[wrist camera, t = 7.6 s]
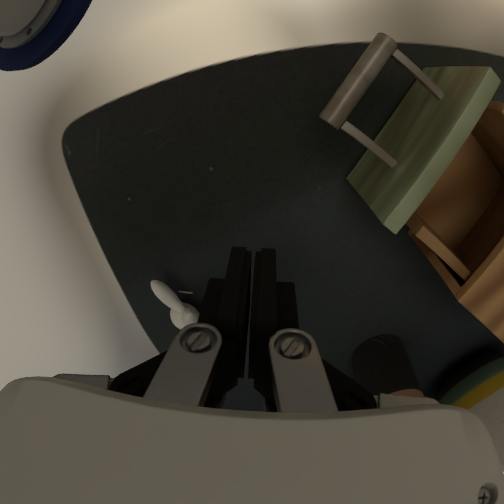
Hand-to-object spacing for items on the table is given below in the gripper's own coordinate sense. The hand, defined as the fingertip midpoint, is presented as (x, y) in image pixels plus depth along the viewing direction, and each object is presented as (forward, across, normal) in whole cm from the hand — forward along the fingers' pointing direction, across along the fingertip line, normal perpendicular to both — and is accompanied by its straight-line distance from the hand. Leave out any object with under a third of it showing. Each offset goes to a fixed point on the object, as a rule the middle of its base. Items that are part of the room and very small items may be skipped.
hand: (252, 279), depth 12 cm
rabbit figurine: (+14, +7, +13) cm, 21 cm away
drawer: (+13, -14, -4) cm, 20 cm away
